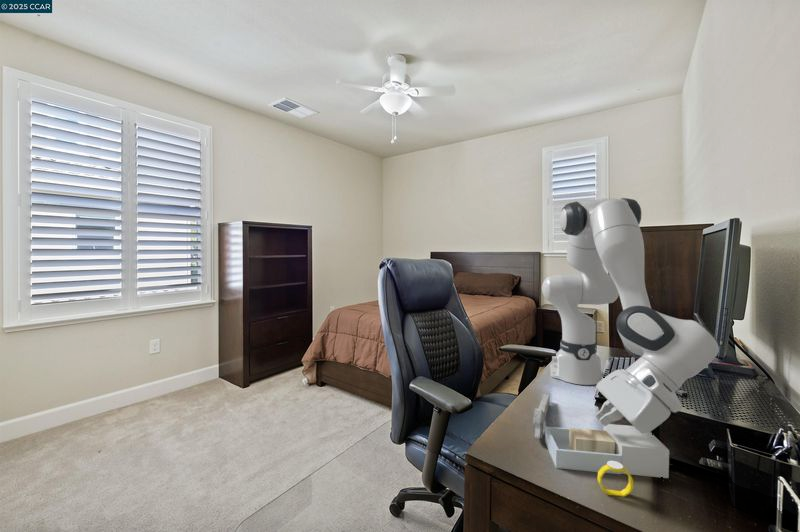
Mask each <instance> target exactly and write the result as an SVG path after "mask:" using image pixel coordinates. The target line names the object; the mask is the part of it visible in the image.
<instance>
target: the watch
mask: <svg viewBox="0 0 800 532" xmlns="http://www.w3.org/2000/svg"><path fill="white" fill-rule="evenodd" d="M609 470H612V471H614V472H622V471H623V472H625V473H626V474H625V475H627V476H628V478H627V479H628V483H627V485H626V486H625V488H624V489H622V490H614V489H608V488H606V487H605V486H604V485H603V483H602V482H603V481H602V480H603V477H604V475H605V474H606V473H605V472H607V471H609ZM596 479H597V482H598V485H599V486H600V489H601V490H602V491H603V492H604V493H605V494H606V495H607V496H615V497H616V496H617V497H622V498H625V497H627V496H628V495H630V494H631V493H632V491H633V489H634V488H635V487H634V479H633V477H632V475H631V474H629V472H628V471H627V470H626V469H625V468H624V467H623V465H622V464H621V463H619V462H616V461H608V462H607V465H605V466H603V467H601V469H600V470H599V471H598V472H597V478H596Z"/></svg>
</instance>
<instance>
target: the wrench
mask: <svg viewBox="0 0 800 532" xmlns="http://www.w3.org/2000/svg"><path fill="white" fill-rule="evenodd" d="M549 405H550V394H543V395H542V398H541V401H540V404H539V406H538V407H537V408H536V407H535V408H534V411H533V418H532V419H533V421H532V424H533V425H534V438H535V439H536V440H540V439H543V432H544V424H545V419H546V417H547V413H548V409H549Z"/></svg>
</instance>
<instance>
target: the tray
mask: <svg viewBox="0 0 800 532" xmlns="http://www.w3.org/2000/svg"><path fill="white" fill-rule="evenodd" d="M569 428H570V427H555V426H544V436H545V437H544V443H545V445H546V447H547V450H548V452H549V456H550V458H551V460H552V462H553V464H554V466H555V469H565V470H574V471H583V472H591V473H592V472H593V473H598V471H599V470H600V469H601V467H603V466H605V465H607V462H608V461H616V462H619V463H621V455H620V454H610V453H599V452H588V451H577V450H570V449H569ZM605 474H614V475H622V474H621V472H614V471H612V470H609V471H607V472H605Z"/></svg>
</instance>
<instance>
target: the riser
mask: <svg viewBox="0 0 800 532" xmlns="http://www.w3.org/2000/svg"><path fill="white" fill-rule="evenodd" d="M602 425H603V424H602ZM602 430H603V431H607V433H608V434H609V435H610V436H611V438H612V439H613V440H614V441H615V454H620V455H621V464H622V465H623V467H624V468H625V469H626V470H627V471H628V472H629V474H630V475H631V476H633V475H634V476H640V477H641V476H644V477H650V478H651V477H653V478H654V477H655V478H661V477H663V479H669V476H670V475H669V472H670V469H669V468H670V449H668V447H667V446H665V444H664V443H663V442H661V441H660V440H659V439H658V438H657V436H655V435H654V434H653V433H652V431H650V432H647V433H640V432H639V431H638V430H637V429H636V428H635V427H634V426H633V425H625V424H614V423H613V424H612V423H609V424H608V425H607V426H604V425H603V429H602ZM652 434H653V435H652ZM622 474H624V475H627V474H626V473H625V472H623V471H622V472H621V474H620V475H622Z"/></svg>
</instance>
